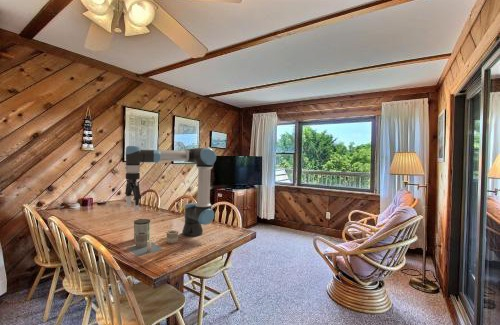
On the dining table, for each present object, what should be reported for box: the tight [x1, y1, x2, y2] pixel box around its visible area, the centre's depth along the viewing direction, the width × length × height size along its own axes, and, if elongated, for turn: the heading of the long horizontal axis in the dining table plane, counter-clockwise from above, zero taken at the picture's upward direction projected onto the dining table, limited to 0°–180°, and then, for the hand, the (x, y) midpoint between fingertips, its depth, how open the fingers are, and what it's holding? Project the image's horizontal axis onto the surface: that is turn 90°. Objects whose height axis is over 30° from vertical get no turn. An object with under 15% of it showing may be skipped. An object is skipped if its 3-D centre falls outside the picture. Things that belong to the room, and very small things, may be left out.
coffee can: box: [133, 218, 151, 243], centre depth 175 cm, size 10×10×14 cm
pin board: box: [126, 240, 165, 257], centre depth 158 cm, size 16×18×7 cm
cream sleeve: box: [166, 230, 179, 245], centre depth 171 cm, size 7×7×8 cm
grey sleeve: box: [134, 232, 148, 248], centre depth 163 cm, size 7×7×8 cm
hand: (132, 208), depth 150 cm, fingers open, 13 cm apart
